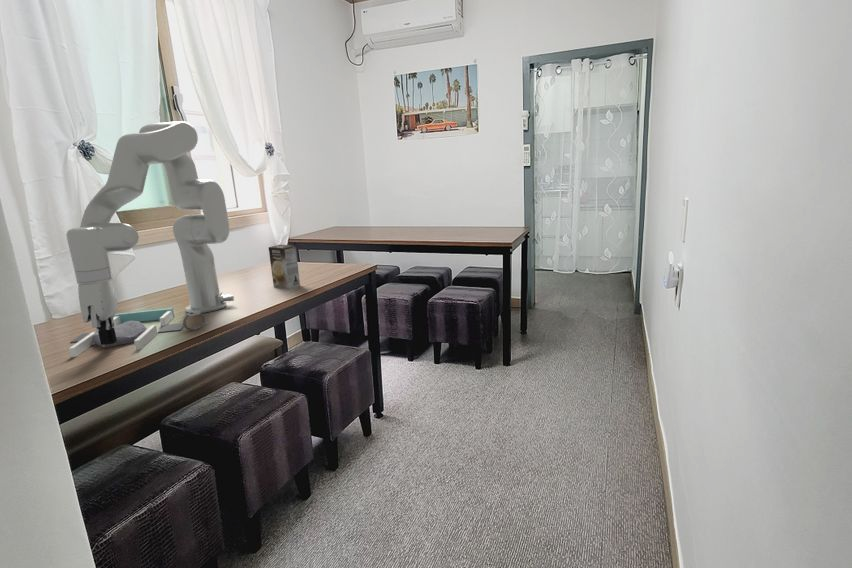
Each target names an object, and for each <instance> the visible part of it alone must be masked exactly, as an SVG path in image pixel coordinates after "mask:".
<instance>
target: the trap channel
mask: <svg viewBox="0 0 852 568" xmlns="http://www.w3.org/2000/svg"><path fill="white" fill-rule="evenodd" d="M174 318H175V314H174V308H173V307H170V308H160V309H150V310H149V309H148V310H140V311H131V312H121V313H115V316H114V318H113V320H114V327H116V326H117V325H119V324H122V323H125V322H128V321H139V322H147V321H148V322H149V321H155V320H159V323H160V326H161V328H160V329H159V331H158V329H157V325H156V324H153V325H150V326H149V327H147V328H146V329H147V330H146V331H145V332H143V333H142V334H141V335H140V336H139V337H138V338H137V339H136V340H134V342H133V343H134V348H135V350H136V351H137V350H142V349H144V347H145V346H146V345H147V344H148V343H149V342H150V341H151V340H152V339H153V338H154V337H155V336H156V335H158V334H163V333H171V332H180V331H181V330H182V329H183V328H185V327H184V326H183V322H177V323H170V322H171V321H172V320H173V319H174ZM186 325H188V324H187V321H186ZM112 328H113V327H112ZM95 332H96V331H92V332H89V333H82V334H79V335H78V336H76V338H73V340H71V341H70V344H71V343H73V345H71V346H70V347H69V348H68V351H69V354H70V358H77V357H78V356H80V355H81V354H82V353H83V352H85V351H86V350H87V349H89V348H90V347H91V346H93V345H94V344H95V343H94V341H93V335H94V333H95Z"/></svg>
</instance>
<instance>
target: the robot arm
mask: <svg viewBox="0 0 852 568" xmlns="http://www.w3.org/2000/svg"><path fill="white" fill-rule="evenodd" d="M138 131H139V132H136V133H128V134H125V135H122V136H120V138H118V140H117V143H116V145H115V148H114V149H115V150H114V153H113V158H112V162H111V166H110V169H109V173H108V177H107V181H106V182H105V184H104V185H103V187H102V188H100V189H99V191H98V192H97V193H96V194H95V195H94V196H93V198H92V199H91V200H90V201H89V203H88V204H87V205H86V208H85V209H84V212H83V215H82V218H81V223H80V227H75V228H70V229H68V230H67V231H66V240H67V245H68V249H69V254H70V257H71V262H72V266H73V267H72V268H73V270H74V275H75V279H76V283H77V285H78V287H77V288H78V289H77V290H78V293H77V294H78V300H79V307H80V308H79V309H80V314H81V318H82V322H83V323H90V322H91V327H92V328H96V331H98V333H99V338H100V342H101V345H106V344H114V343H115V342H116V341H117V339H116V334H115V330H114V320H113V318H114V317H115V314H117V312H118V310H119V305H118V304H119V303H118V299H117V296H116V291H115V289H114V285H113V282H112V280H113V274H112V269H111V265H110V260H109V254H108V253H111V252H112V253H113V252H125V251H126V252H127V251H129V250H131V249H133V248H134V247H135V246H137V244H138V243H139V233H138V231H137V229H136V228H135V227H133V226H132V225H131V224H129V223H128V224H127V223H124V222H111V220H112V218H113V217H114V215H115V213H116V212H118V210H120V209H121V208H122V207H124V206H125V205H127V204H128V203H130V202H132V201H134V200H135V199H138V198H139V197H140V196H142V194H143V193H144V189H145V184H146V180H147V175H148V172H149V167H150V165H155V164H156V165H157V164H158V165H159V164H162V165H163V166H164V168H165V172H166V176H167V181H168V186H169V191H170V196H171V198H172V203H173V205H174V207H175V208H176V209H179V210H181V211H202V213H201V214H200V213H198V214H185V215H181V216H180V217H177V218H176V219H175V221H174V222H173V224H172V232H173V236H174V239H175V241H176V243H177V246H178V250H179V252H180V253H179V254H180V257H181V261H182V267H183V273H184V278H185V283H186V290H187V294H188V301H189V304H188V305H187V306H186V307H185V311H186V313H190V312H194V311H198V312H200V313H202V314H203V313H210V312H214V311H218V310H221V309H223V308H225V307H226V306H227V302H234V301H235V296H234V295H232V294H226V295H224V294H223V291H220V288H219V287H220V286H219V281H218V275H217V268H216V264H215V263H216V262H215V257H214V253H213V252H212V249H211V248H210V244H213V245H214V244H215V245H217V244H223V243H225V242H226V240H227V239H228V238H229V236H230V224H229V217H228V211H227V204H226V199H225V194H224V191H223V189H222V188H221V186H220V185H219V183H218V182H216V181H214V180H212V179H208V178H206V179H202V178H201V179H200V178H199V176H198V172H197V167H196V164H195V161H194V160H193V158H192V157H191V154H190V153H189V152H192V151H193V150H194V149H195V148H196V146H197V144H198V140H199V139H198V138H199V137H198V133H197V130H196V129H195V127H194V126H193V125H192V124H191V123H189V122H187V121H184V120H182V121H180V120H179V121H168V122H167V121H166V122H165V121H164V122H155V123H149V124H145V125H144V126H142V127H141V128H140V129H139V130H138ZM112 327H113V328H112Z"/></svg>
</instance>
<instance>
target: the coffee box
mask: <svg viewBox="0 0 852 568" xmlns="http://www.w3.org/2000/svg"><path fill="white" fill-rule="evenodd" d="M267 248H268V254H269V260H270V261H269V262H270V269H271V276H272V277H271V278H272V284H273V288H278V289H284V290H290V289H294V288H297V287H300V286H301V280H300V274H299V273H300V271H299V264H298V263H299V261H298V256H297V253H298V252H297V247H296V245H289V244H288V245H287V244H277V245H273V246H269V247H267Z"/></svg>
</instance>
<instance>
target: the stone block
mask: <svg viewBox="0 0 852 568" xmlns="http://www.w3.org/2000/svg"><path fill="white" fill-rule="evenodd" d="M147 329H148V328H147V327H146V326H145V325H144V324H143V323H142V321H140V322H139V321H128V322H125V323H121V324H119V325H117V326H116V327H114V330H115V334H116V339H117V341H116V342H115V343H114V344H106V345H101V342H100V338H99V333H98V331H97V330H96V331H94V332H95V333H94V335H93V341H94V344H96V345H97V346H100V347H102V348H104V349H105V348H111V347H116V346H119V345H124V344H125V345H126V344H129V343H134V340H136V339H137V338H138V337H139V336H140V335H141V334H142V333H143V332H145V331H146V330H147Z"/></svg>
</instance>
